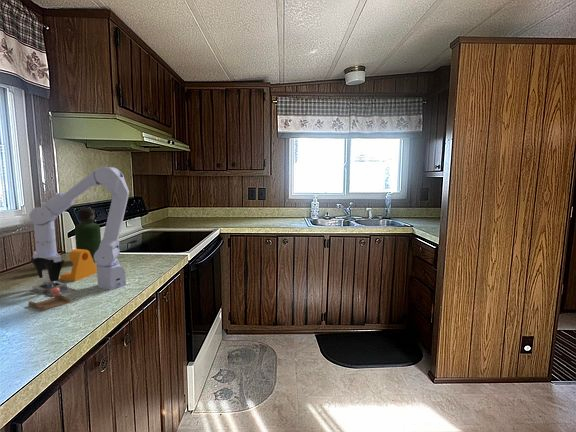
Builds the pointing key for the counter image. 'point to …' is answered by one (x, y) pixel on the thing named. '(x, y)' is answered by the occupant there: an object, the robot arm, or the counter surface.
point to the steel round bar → (47, 280)
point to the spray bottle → (87, 232)
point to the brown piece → (50, 303)
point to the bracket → (80, 265)
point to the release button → (55, 291)
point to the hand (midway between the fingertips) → (48, 278)
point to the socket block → (47, 291)
